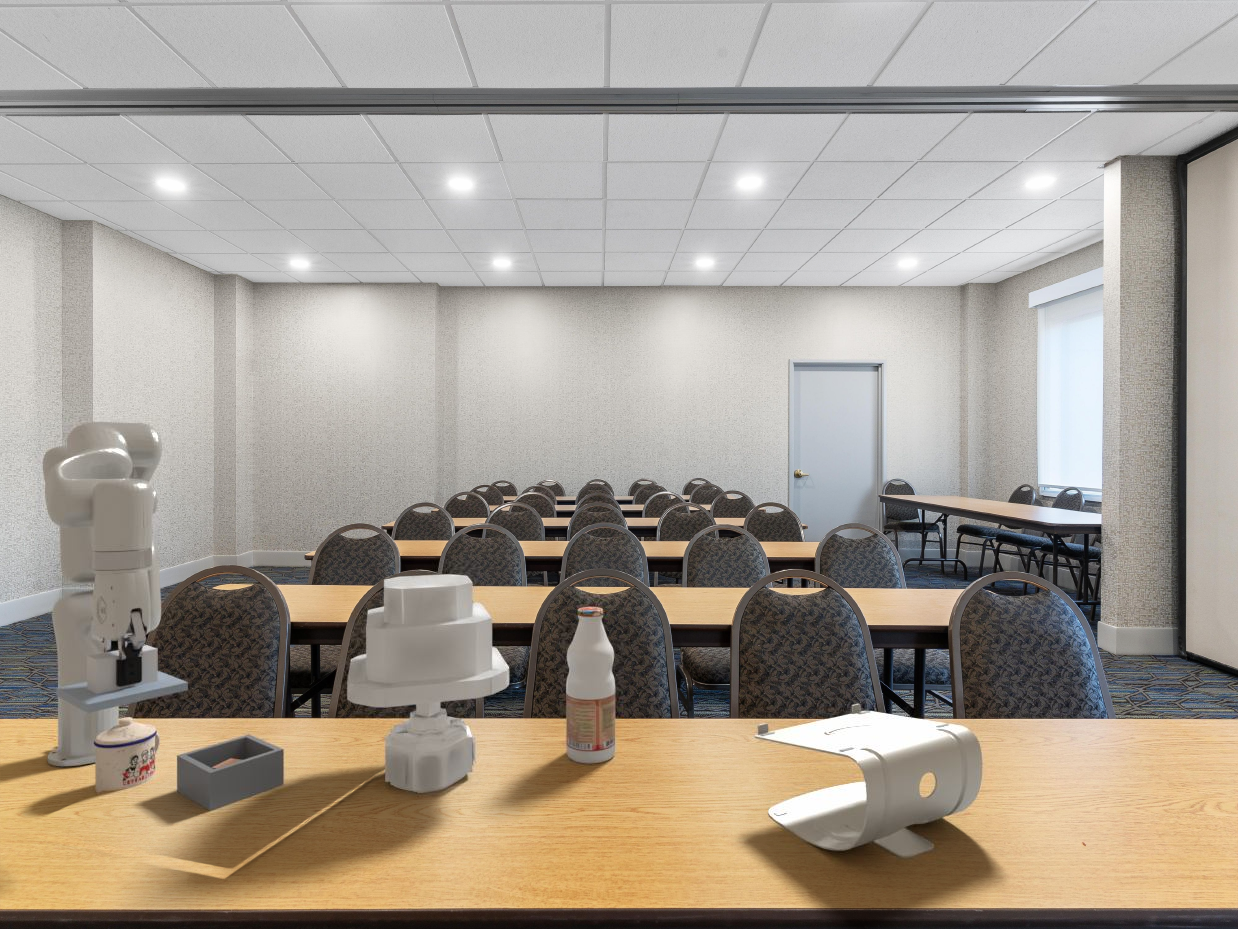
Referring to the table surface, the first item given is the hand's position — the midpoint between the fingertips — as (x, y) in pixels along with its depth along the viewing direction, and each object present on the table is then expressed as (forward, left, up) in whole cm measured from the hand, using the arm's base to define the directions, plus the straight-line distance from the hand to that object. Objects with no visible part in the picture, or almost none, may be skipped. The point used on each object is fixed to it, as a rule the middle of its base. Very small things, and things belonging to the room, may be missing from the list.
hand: (122, 680), depth 110 cm
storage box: (0, +16, -23) cm, 28 cm away
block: (0, +16, -22) cm, 27 cm away
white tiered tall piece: (+22, +40, -23) cm, 51 cm away
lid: (0, 0, -2) cm, 2 cm away
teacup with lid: (-19, +8, -23) cm, 31 cm away
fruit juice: (+39, +65, -23) cm, 79 cm away
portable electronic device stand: (+90, +69, -23) cm, 116 cm away
